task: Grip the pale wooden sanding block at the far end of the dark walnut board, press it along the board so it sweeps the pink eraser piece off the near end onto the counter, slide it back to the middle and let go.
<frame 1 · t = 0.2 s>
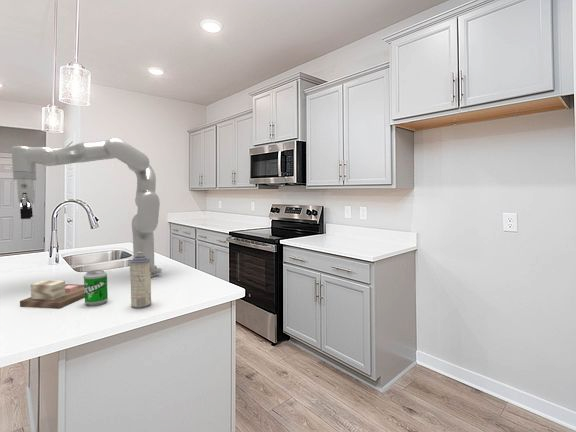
hand: (26, 217, 136), 31 cm above the countertop, tool pointing down, fingers open, 9 cm apart
sanding block: (48, 298, 122), point 2 cm above the countertop, touching board
eraser piece: (69, 290, 132), point 2 cm above the countertop, touching board
soda can: (96, 303, 124), on the countertop
board: (63, 297, 130), on the countertop
aerosol can: (141, 305, 122), on the countertop
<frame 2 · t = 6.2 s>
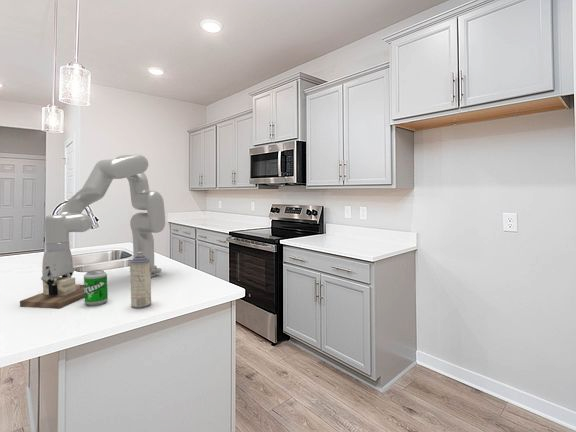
hand: (59, 292, 128), 3 cm above the countertop, tool pointing down, fingers closed on sanding block, 5 cm apart
sanding block: (59, 294, 128), point 2 cm above the countertop, touching gripper
eraser piece: (72, 289, 134), point 2 cm above the countertop, touching board, gripper
everything else where it was.
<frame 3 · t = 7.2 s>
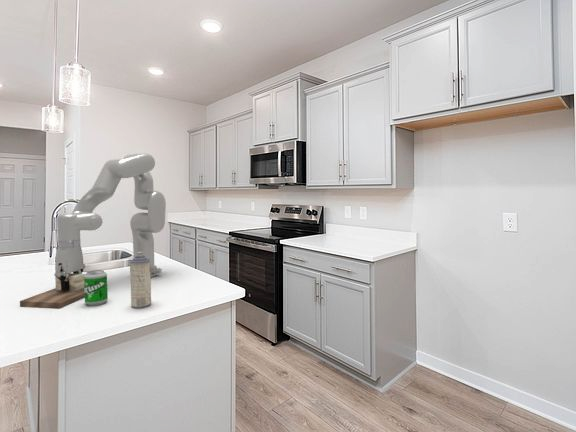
hand: (71, 287, 133), 3 cm above the countertop, tool pointing down, fingers closed on sanding block, 5 cm apart
sanding block: (71, 289, 133), point 2 cm above the countertop, touching gripper
eraser piece: (82, 285, 139), point 2 cm above the countertop, touching board, gripper
everything else where it was.
when the fingers open (3 cm above the countertop, at t = 12.3 s): sanding block stays where it is, resting on board.
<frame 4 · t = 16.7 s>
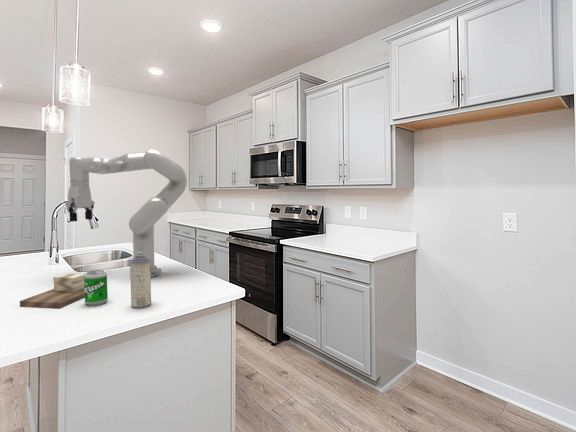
hand: (81, 220, 154), 28 cm above the countertop, tool pointing down, fingers open, 9 cm apart
sanding block: (69, 290, 132), point 2 cm above the countertop, touching board
eraser piece: (92, 283, 145), point 1 cm above the countertop, tilted 180°
everything else where it was.
at the end: eraser piece inside the target area (3.9 cm from its centre), point 1.0 cm above the countertop; sanding block touching board; the gripper is holding nothing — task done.
